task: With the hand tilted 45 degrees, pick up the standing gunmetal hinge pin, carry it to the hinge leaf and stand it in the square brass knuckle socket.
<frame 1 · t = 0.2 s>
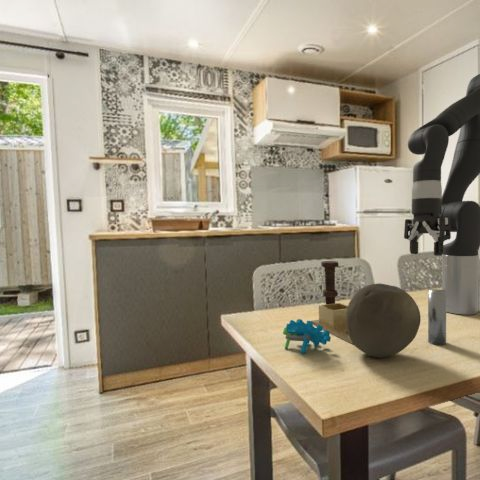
hand: (425, 254, 99), 18 cm above the table, tool pointing down, fingers open, 8 cm apart
bolt: (330, 307, 116), on the table
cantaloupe: (381, 355, 73), on the table
blue lobed toy: (306, 349, 78), on the table
hinge leaf: (349, 329, 91), on the table
pin: (437, 342, 80), on the table
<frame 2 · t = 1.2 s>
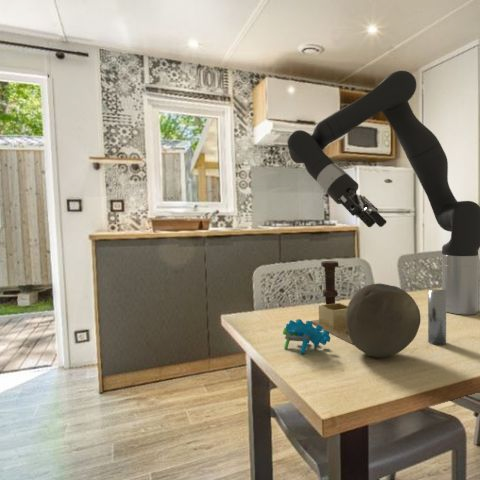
hand: (378, 224, 90), 27 cm above the table, tool tilted 45°, fingers open, 8 cm apart
nothing on the table moved.
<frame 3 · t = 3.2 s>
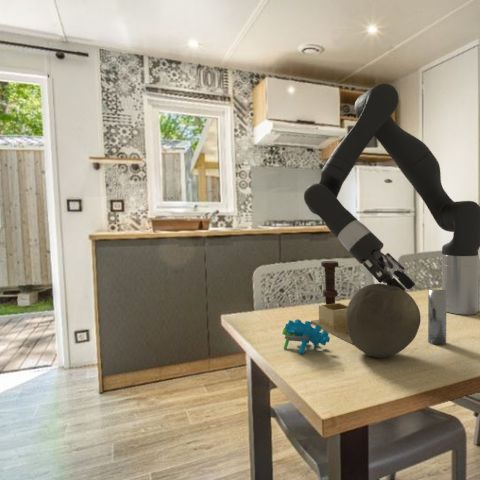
hand: (407, 289, 83), 12 cm above the table, tool tilted 45°, fingers open, 8 cm apart
nothing on the table moved.
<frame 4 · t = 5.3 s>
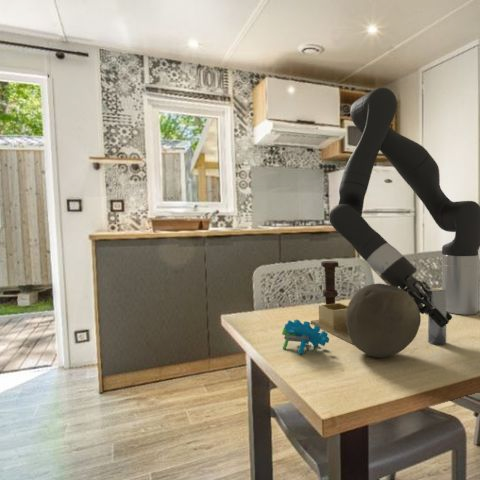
hand: (447, 322, 78), 5 cm above the table, tool tilted 45°, fingers closed on pin, 3 cm apart
pin: (437, 342, 80), on the table, touching gripper
everything else where it was.
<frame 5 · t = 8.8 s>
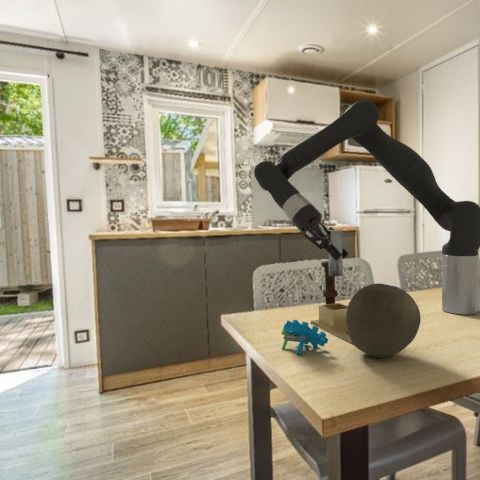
hand: (342, 257, 92), 19 cm above the table, tool tilted 45°, fingers closed on pin, 3 cm apart
pin: (335, 275, 93), point 14 cm above the table, touching gripper
when the fingers open (6 cm above the table, at t = 12.1 s): pin stays where it is, resting on hinge leaf.
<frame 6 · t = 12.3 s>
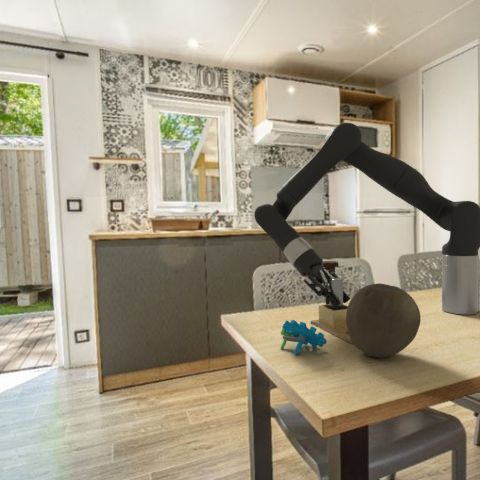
hand: (342, 303, 93), 7 cm above the table, tool tilted 45°, fingers open, 5 cm apart
pin: (336, 323, 94), point 1 cm above the table, touching hinge leaf
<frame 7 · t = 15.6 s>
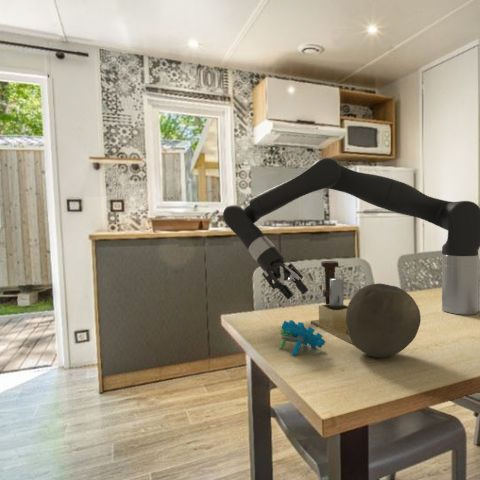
hand: (298, 294, 101), 7 cm above the table, tool tilted 45°, fingers open, 8 cm apart
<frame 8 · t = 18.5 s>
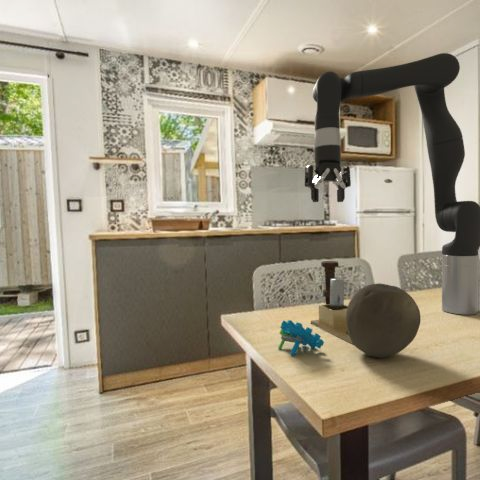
hand: (328, 202, 102), 34 cm above the table, tool pointing down, fingers open, 8 cm apart
at the end: pin 0.1 cm from the target spot on the hinge leaf, point 0.9 cm above the hinge leaf's base; pin tilted 3°; the gripper is holding nothing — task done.
